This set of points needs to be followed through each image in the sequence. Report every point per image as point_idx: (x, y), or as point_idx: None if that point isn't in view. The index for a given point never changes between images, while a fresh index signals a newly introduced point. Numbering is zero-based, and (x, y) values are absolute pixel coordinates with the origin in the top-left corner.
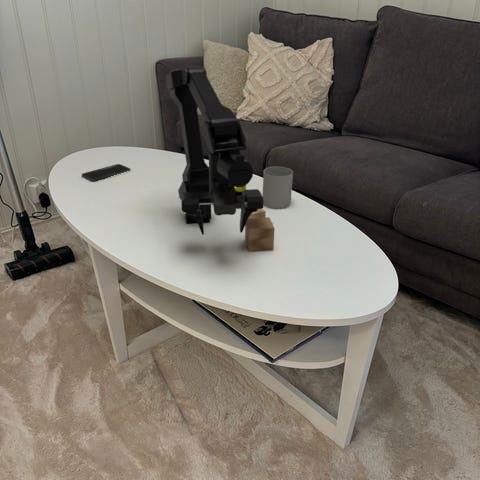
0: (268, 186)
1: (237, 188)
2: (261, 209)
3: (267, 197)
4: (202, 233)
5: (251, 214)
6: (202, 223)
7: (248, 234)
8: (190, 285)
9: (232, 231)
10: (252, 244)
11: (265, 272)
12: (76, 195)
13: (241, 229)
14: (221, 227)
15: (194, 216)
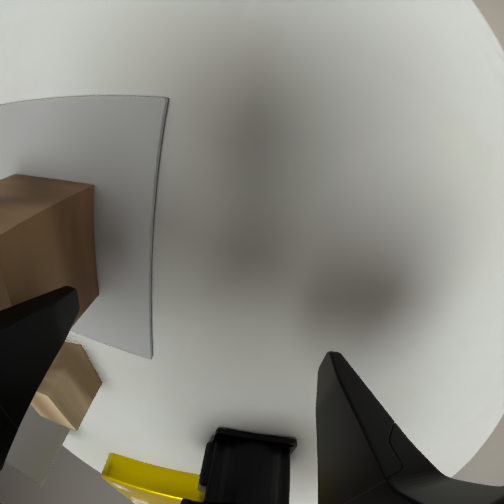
0: (33, 449)
1: (120, 478)
2: None
3: (47, 427)
4: (340, 358)
5: (51, 394)
6: (363, 426)
7: (36, 247)
8: (466, 19)
9: (145, 370)
10: (54, 195)
11: (90, 4)
12: None
13: (55, 296)
14: (182, 401)
15: (457, 481)
